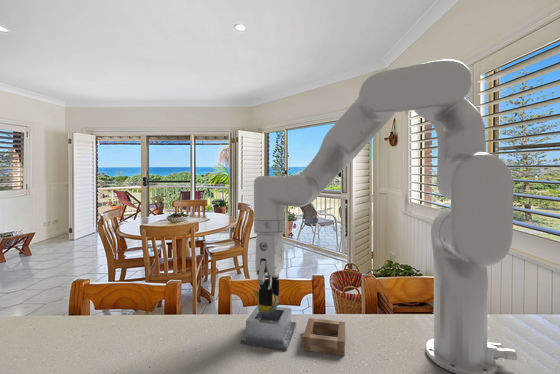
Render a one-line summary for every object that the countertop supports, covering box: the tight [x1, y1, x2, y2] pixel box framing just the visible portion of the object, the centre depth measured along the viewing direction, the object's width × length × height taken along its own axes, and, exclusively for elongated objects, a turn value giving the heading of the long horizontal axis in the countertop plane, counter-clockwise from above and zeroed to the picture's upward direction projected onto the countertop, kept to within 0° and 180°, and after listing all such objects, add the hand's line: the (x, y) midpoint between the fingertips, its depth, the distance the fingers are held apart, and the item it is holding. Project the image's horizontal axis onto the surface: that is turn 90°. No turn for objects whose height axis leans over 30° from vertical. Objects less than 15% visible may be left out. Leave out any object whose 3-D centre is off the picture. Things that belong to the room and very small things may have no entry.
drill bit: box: [251, 289, 280, 315], centre depth 69 cm, size 5×5×10 cm
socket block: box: [302, 317, 346, 357], centre depth 66 cm, size 9×9×3 cm
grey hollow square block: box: [239, 305, 297, 351], centre depth 69 cm, size 11×11×5 cm
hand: (269, 299), depth 69 cm, fingers closed on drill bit, 5 cm apart
